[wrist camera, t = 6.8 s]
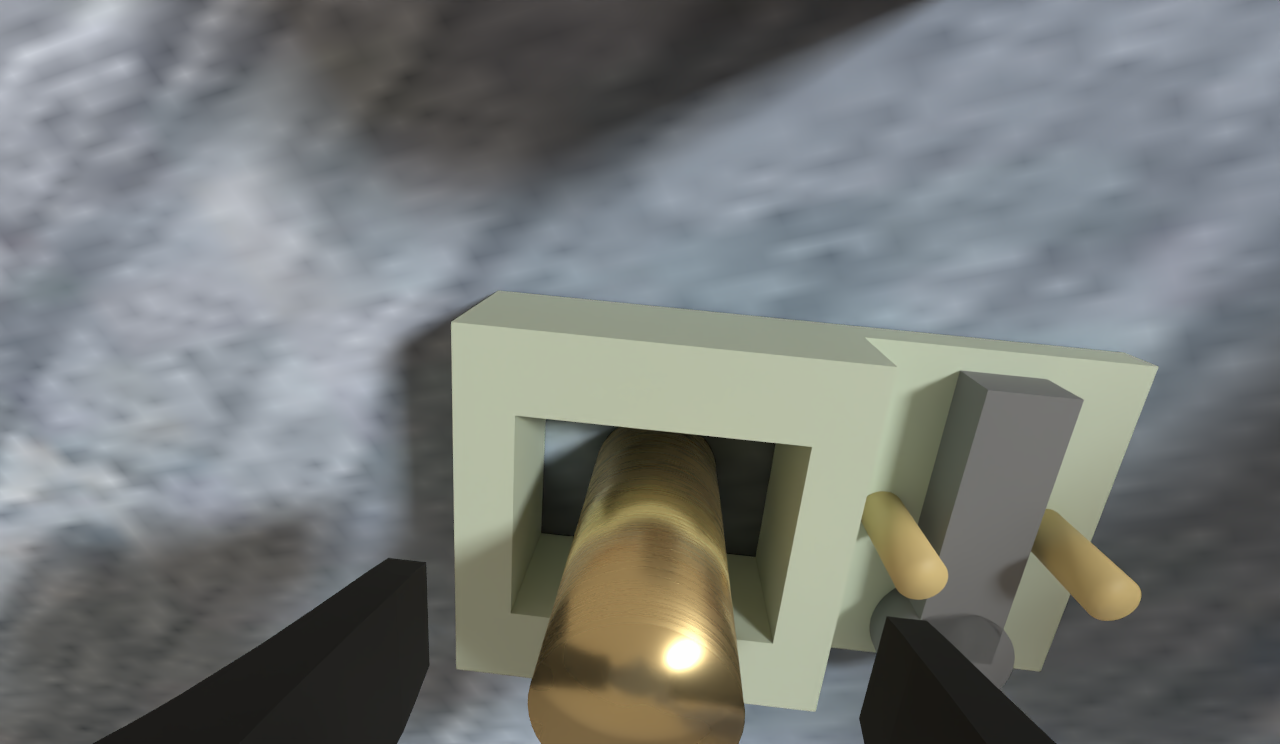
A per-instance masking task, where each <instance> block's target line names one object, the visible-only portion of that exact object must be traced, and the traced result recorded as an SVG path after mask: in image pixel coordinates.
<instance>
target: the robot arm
mask: <svg viewBox="0 0 1280 744" xmlns="http://www.w3.org/2000/svg"><path fill="white" fill-rule="evenodd" d="M428 667H429V641H428V609H427V577H426V562H418V561H409V560H400V559H392V558H388V559H386V560H385V561H383V562H382V563H380V564H378V565H377V566H375V567H374V568H372V569H371V570H369V571H368V572H367V573H365V574H364V575H362V576H361V577H359V578H358V579H356V580H355V581H353V582H352V583H351V584H349V585H348V586H346V587H345V588H343V589H342V590H340V591H339V592H338V593H336V594H335V595H333V596H332V597H330V598H329V599H327V600H326V601H325V602H323V603H322V604H320V605H319V606H317V607H316V608H314V609H313V610H311V611H310V612H308V613H307V614H305V615H304V616H303V617H301V618H300V619H298V620H297V621H295V622H294V623H292V624H291V625H289V626H288V627H286V628H285V629H283V630H282V631H280V632H279V633H277V634H276V635H274V636H273V637H271V638H270V639H268V640H267V641H265V642H264V643H262V644H261V645H259V646H258V647H256V648H254V649H253V650H251V651H250V652H248V653H246V654H245V655H243V656H242V657H240V658H238V659H237V660H235V661H234V662H232V663H230V664H229V665H227V666H226V667H224V668H222V669H221V670H219V671H218V672H216V673H214V674H213V675H211V676H210V677H208V678H206V679H205V680H203V681H202V682H200V683H198V684H197V685H195V686H193V687H192V688H190V689H189V690H187V691H185V692H184V693H182V694H181V695H179V696H177V697H176V698H174V699H172V700H170V701H169V702H167V703H165V704H164V705H162V706H160V707H158V708H157V709H155V710H153V711H151V712H150V713H148V714H146V715H144V716H143V717H141V718H139V719H137V720H136V721H134V722H132V723H130V724H128V725H127V726H125V727H123V728H121V729H119V730H117V731H115V732H114V733H112V734H110V735H108V736H106V737H104V738H102V739H101V740H99V741H97V742H95V743H93V744H397V742H398V741H399V739H400V737H401V735H402V733H403V730H404V728H405V726H406V723H407V721H408V718H409V716H410V713H411V711H412V709H413V706H414V704H415V701H416V699H417V696H418V693H419V691H420V688H421V686H422V683H423V680H424V678H425V675H426V673H427V670H428ZM859 719H860V724H861V729H862V734H863V739H864V744H1056V743H1055V742H1054V741H1053V740H1052V739H1051V738H1050V737H1048V736H1047V735H1046V734H1045V733H1044V732H1043V731H1042V730H1041V729H1040V728H1039V727H1038V726H1037V725H1036V724H1035V723H1034V722H1033V721H1031V720H1030V719H1029V718H1028V717H1027V716H1026V715H1025V714H1024V713H1023V712H1022V711H1021V710H1020V709H1019V708H1018V707H1017V706H1016V705H1015V704H1014V703H1013V702H1012V701H1011V700H1009V699H1008V698H1007V697H1006V696H1005V695H1004V694H1003V693H1002V692H1001V691H1000V690H999V689H998V688H997V687H996V686H995V685H994V684H993V683H992V682H991V681H990V680H989V679H988V678H987V677H986V676H985V675H984V674H983V673H982V672H981V671H980V670H979V669H977V668H976V667H975V666H974V665H973V664H972V663H971V662H970V661H969V660H968V659H967V658H966V657H965V656H964V655H963V654H962V653H961V652H960V651H959V650H958V649H957V648H956V647H955V646H954V645H953V644H952V643H951V642H950V641H948V640H947V639H946V638H945V637H944V636H943V635H942V634H941V633H940V632H939V631H938V630H937V629H936V628H934V627H933V626H932V625H931V624H930V623H929V622H928V621H924V620H915V619H907V618H898V617H889V616H887V617H886V621H885V624H884V628H883V632H882V635H881V639H880V643H879V647H878V650H877V654H876V658H875V662H874V665H873V669H872V673H871V677H870V680H869V684H868V688H867V691H866V695H865V699H864V703H863V706H862V710H861V714H860V718H859Z"/></svg>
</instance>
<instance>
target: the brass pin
mask: <svg viewBox="0 0 1280 744" xmlns="http://www.w3.org/2000/svg"><path fill="white" fill-rule="evenodd" d="M528 711H529V717H530V721H531V724H532V727H533V729H534V732H535V734H536V736H537V738H538V739H539V741H540V742H541V744H738V743H739V741H740V738H741V736H742V733H743V728H744V723H745V708H744V700H743V691H742V683H741V674H740V666H739V657H738V649H737V640H736V632H735V623H734V614H733V606H732V597H731V589H730V580H729V572H728V563H727V555H726V546H725V538H724V529H723V521H722V512H721V504H720V495H719V487H718V478H717V470H716V462H715V459H714V455H713V453H712V450H711V448H710V447H709V445H708V443H707V442H706V441H705V439H704V438H703V437H702V436H701V435H695V434H685V433H676V432H666V431H657V430H647V429H638V428H628V427H618V428H617V429H616V430H614V431H613V432H612V433H611V434H610V435H609V436H608V437H607V439H606V440H605V441H604V443H603V445H602V446H601V448H600V451H599V453H598V456H597V460H596V463H595V466H594V470H593V473H592V477H591V480H590V483H589V487H588V490H587V494H586V497H585V500H584V504H583V507H582V511H581V514H580V517H579V521H578V524H577V528H576V531H575V534H574V538H573V541H572V545H571V548H570V551H569V555H568V558H567V562H566V565H565V568H564V572H563V575H562V579H561V582H560V585H559V589H558V592H557V596H556V599H555V602H554V606H553V609H552V613H551V616H550V620H549V623H548V626H547V630H546V633H545V637H544V640H543V643H542V647H541V650H540V654H539V657H538V660H537V664H536V667H535V671H534V674H533V677H532V681H531V684H530V689H529V693H528Z"/></svg>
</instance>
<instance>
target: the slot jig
mask: <svg viewBox="0 0 1280 744" xmlns="http://www.w3.org/2000/svg"><path fill="white" fill-rule="evenodd" d="M451 350H452V417H453V484H454V551H455V618H456V669H459V670H467V671H476V672H484V673H493V674H501V675H510V676H518V677H526V678H532V677H533V674H534V671H535V667H536V664H537V660H538V657H539V654H540V650H541V647H542V643H543V640H544V637H545V633H546V630H547V626H548V623H549V620H550V616H551V613H552V609H553V606H554V602H555V599H556V596H557V592H558V589H559V585H560V582H561V579H562V575H563V572H564V568H565V565H566V562H567V558H568V555H569V551H570V548H571V545H572V541H573V538H574V537H572V536H563V535H554V534H545V533H541V525H542V499H543V474H544V449H545V424H546V419H552V420H562V421H571V422H581V423H590V424H600V425H609V426H619V427H628V428H638V429H647V430H657V431H666V432H676V433H685V434H695V435H704V436H714V437H723V438H733V439H742V440H751V441H761V442H770V443H776V445H775V450H774V456H773V462H772V467H771V473H770V479H769V484H768V490H767V495H766V501H765V507H764V512H763V518H762V524H761V529H760V535H759V541H758V546H757V552H756V557H751V556H742V555H733V554H726V555H727V563H728V572H729V580H730V589H731V597H732V606H733V614H734V623H735V632H736V640H737V649H738V657H739V666H740V674H741V683H742V691H743V700H744V703H746V704H754V705H763V706H771V707H780V708H788V709H796V710H805V711H813V712H815V711H816V707H817V703H818V699H819V695H820V690H821V686H822V682H823V678H824V674H825V670H826V665H827V661H828V657H829V653H830V649H831V648H840V649H849V650H857V651H866V652H875V653H877V650H878V647H879V643H880V639H881V635H882V632H883V628H884V624H885V621H886V617H887V616H889V617H898V618H907V619H915V620H924V621H928V622H929V623H930V624H931V625H932V626H933V627H934V628H936V629H937V630H938V631H939V632H940V633H941V634H942V635H943V636H944V637H945V638H946V639H947V640H948V641H950V642H951V643H952V644H953V645H954V646H955V647H956V648H957V649H958V650H959V651H960V652H961V653H962V654H963V655H964V656H965V657H966V658H967V659H968V660H969V661H970V662H971V663H972V664H973V665H974V666H975V667H976V668H977V669H979V670H980V671H981V672H982V673H983V674H984V675H985V676H986V677H987V678H988V679H989V680H990V681H991V682H992V683H993V684H994V685H995V686H996V687H997V688H998V689H999V690H1000V689H1001V688H1002V687H1003V685H1004V684H1005V683H1006V682H1007V680H1008V678H1009V677H1010V675H1011V673H1012V670H1013V668H1014V669H1022V670H1031V671H1040V672H1041V669H1042V666H1043V664H1044V661H1045V659H1046V656H1047V654H1048V651H1049V648H1050V646H1051V643H1052V641H1053V638H1054V635H1055V633H1056V630H1057V628H1058V625H1059V623H1060V620H1061V617H1062V615H1063V612H1064V610H1065V607H1066V604H1067V602H1068V599H1069V597H1070V594H1071V595H1072V596H1073V597H1074V598H1075V599H1076V600H1077V602H1078V603H1079V604H1080V605H1081V606H1082V607H1083V608H1084V609H1085V610H1086V611H1087V612H1088V613H1089V614H1090V615H1091V616H1092V617H1094V618H1096V619H1098V620H1103V621H1113V620H1118V619H1121V618H1123V617H1126V616H1127V615H1129V614H1130V613H1132V612H1133V611H1134V610H1135V609H1136V608H1137V606H1138V605H1139V603H1140V600H1141V590H1140V588H1139V586H1138V585H1137V584H1136V583H1135V582H1134V581H1133V580H1132V579H1131V578H1130V577H1129V576H1127V575H1126V574H1125V573H1124V572H1123V571H1122V570H1121V569H1120V568H1119V567H1117V566H1116V565H1115V564H1114V563H1113V562H1112V561H1111V560H1110V559H1109V558H1107V557H1106V556H1105V555H1104V554H1103V553H1102V552H1101V551H1100V550H1099V549H1097V548H1096V547H1095V546H1094V545H1093V544H1092V543H1091V540H1092V537H1093V535H1094V532H1095V530H1096V527H1097V524H1098V522H1099V519H1100V517H1101V514H1102V511H1103V509H1104V506H1105V504H1106V501H1107V499H1108V496H1109V493H1110V491H1111V488H1112V486H1113V483H1114V480H1115V478H1116V475H1117V473H1118V470H1119V468H1120V465H1121V462H1122V460H1123V457H1124V455H1125V452H1126V449H1127V447H1128V444H1129V442H1130V439H1131V437H1132V434H1133V431H1134V429H1135V426H1136V424H1137V421H1138V418H1139V416H1140V413H1141V411H1142V408H1143V406H1144V403H1145V400H1146V398H1147V395H1148V393H1149V390H1150V387H1151V385H1152V382H1153V380H1154V377H1155V375H1156V372H1157V369H1158V366H1156V365H1153V364H1151V363H1148V362H1146V361H1143V360H1141V359H1138V358H1136V357H1133V356H1131V355H1129V354H1126V353H1122V352H1112V351H1102V350H1092V349H1082V348H1072V347H1062V346H1051V345H1041V344H1031V343H1021V342H1011V341H1001V340H991V339H981V338H971V337H961V336H951V335H941V334H931V333H920V332H910V331H900V330H890V329H880V328H870V327H860V326H850V325H840V324H830V323H820V322H810V321H800V320H789V319H779V318H769V317H759V316H749V315H739V314H729V313H719V312H709V311H699V310H689V309H679V308H669V307H659V306H648V305H638V304H628V303H618V302H608V301H598V300H588V299H578V298H568V297H558V296H548V295H538V294H528V293H517V292H507V291H497V292H496V293H494V294H493V295H491V296H490V297H488V298H487V299H485V300H484V301H482V302H480V303H479V304H477V305H476V306H474V307H473V308H471V309H470V310H468V311H467V312H465V313H464V314H462V315H461V316H459V317H458V318H456V319H455V320H453V321H452V322H451Z"/></svg>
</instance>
